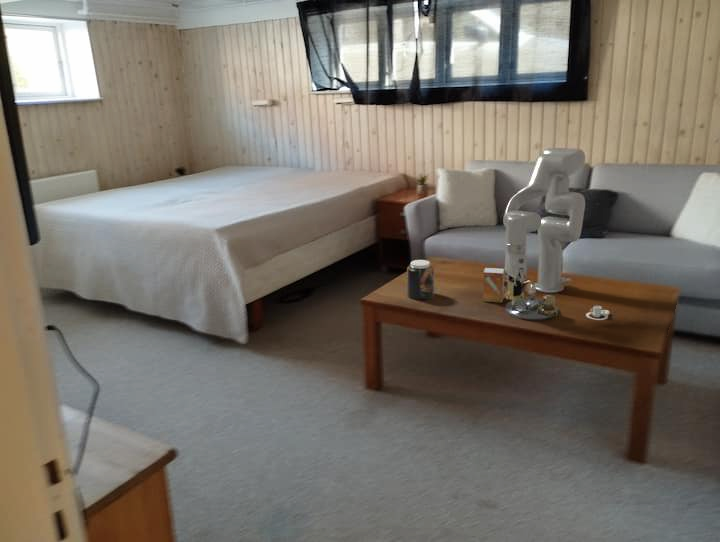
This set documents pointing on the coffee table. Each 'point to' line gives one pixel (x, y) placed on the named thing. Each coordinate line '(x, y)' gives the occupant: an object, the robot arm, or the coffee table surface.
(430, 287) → the jar
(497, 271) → the small box
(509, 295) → the gear
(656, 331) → the coffee table surface
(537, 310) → the carrier
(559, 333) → the coffee table surface
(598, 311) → the teacup and saucer
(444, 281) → the coffee table surface
